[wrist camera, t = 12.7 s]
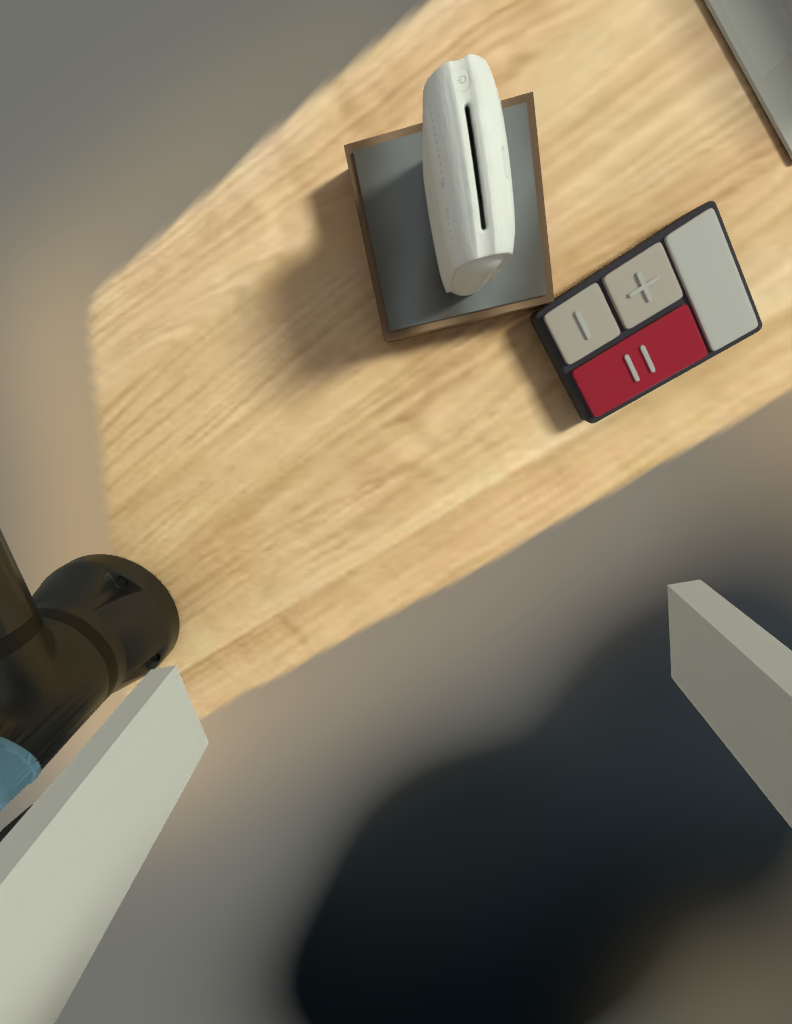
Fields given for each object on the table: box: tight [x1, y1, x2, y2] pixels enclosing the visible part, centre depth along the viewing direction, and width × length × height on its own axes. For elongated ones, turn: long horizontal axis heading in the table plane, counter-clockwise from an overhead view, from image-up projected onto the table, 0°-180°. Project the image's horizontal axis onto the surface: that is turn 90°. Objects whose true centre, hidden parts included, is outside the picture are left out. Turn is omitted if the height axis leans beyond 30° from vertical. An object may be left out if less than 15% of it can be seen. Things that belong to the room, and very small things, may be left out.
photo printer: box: [422, 55, 515, 296], centre depth 30 cm, size 10×4×12 cm, turn 12°
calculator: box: [530, 201, 762, 423], centre depth 39 cm, size 11×4×15 cm
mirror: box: [344, 92, 554, 342], centre depth 37 cm, size 14×14×4 cm
